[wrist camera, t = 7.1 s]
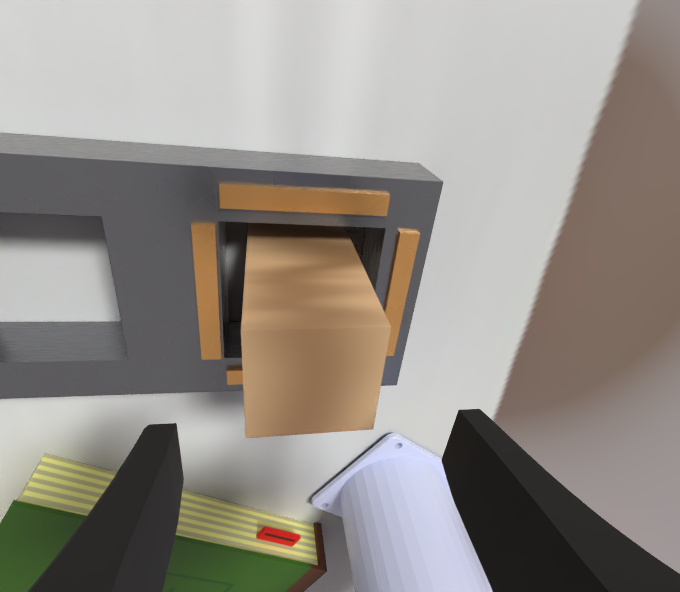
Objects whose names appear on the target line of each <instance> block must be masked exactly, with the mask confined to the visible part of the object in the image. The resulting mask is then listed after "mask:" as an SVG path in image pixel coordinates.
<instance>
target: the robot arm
mask: <svg viewBox="0 0 680 592" xmlns="http://www.w3.org/2000/svg"><path fill="white" fill-rule="evenodd" d="M183 480H184V478H183V470H182V463H181V455H180V447H179V440H178V432H177V424H176V423H174V424H153V425H148V426H147V427H146V428H144V430H143V432H142V434H141V435H140V437H139V439H138V440H137V442H136V444H135V445H134V447H133V449H132V450H131V452H130V454H129V455H128V457H127V458H126V460H125V461H124V463H123V465H122V466H121V468H120V469H119V471H118V472H117V474H116V475H115V477H114V478H113V480H112V481H111V483H110V484H109V485H108V487H107V488H106V490H105V491H104V493H103V494H102V495H101V497H100V498H99V500H98V501H97V503H96V504H95V505H94V507H93V508H92V510H91V511H90V513H89V514H88V515H87V517H86V518H85V519H84V521H83V522H82V523H81V525H80V526H79V527H78V529H77V530H76V531H75V533H74V534H73V535H72V536H71V538H70V539H69V540H68V542H67V543H66V544H65V546H64V547H63V548H62V549H61V551H60V552H59V553H58V555H57V556H56V557H55V559H54V560H53V561H52V562H51V564H50V565H49V566H48V567H47V569H46V570H45V571H44V572H43V573H42V575H41V576H40V577H39V578H38V580H37V581H36V582H35V583H34V584H33V586H32V587H31V588H30V589H29V590H28V591H27V592H162V591H163V586H164V582H165V578H166V573H167V569H168V565H169V561H170V556H171V552H172V548H173V543H174V539H175V535H176V530H177V526H178V520H179V512H180V505H181V497H182V488H183ZM312 505H313V506H314V507H316V508H319V509H321V510H324V511H327V512H329V513H332V514H334V515H337V516H339V517H342V519H343V525H344V531H345V536H346V542H347V548H348V554H349V560H350V566H351V571H352V577H353V583H354V589H355V592H680V574H679V573H677V572H676V571H674V570H673V569H671V568H670V567H668V566H667V565H665V564H664V563H662V562H661V561H660V560H658V559H657V558H655V557H654V556H652V555H651V554H650V553H648V552H647V551H645V550H644V549H643V548H641V547H640V546H639V545H637V544H636V543H634V542H633V541H632V540H630V539H629V538H628V537H626V536H625V535H624V534H622V533H621V532H620V531H618V530H617V529H616V528H614V527H613V526H612V525H610V524H609V523H608V522H606V521H605V520H604V519H603V518H601V517H600V516H599V515H598V514H596V513H595V512H594V511H593V510H591V509H590V508H589V507H588V506H587V505H586V504H584V503H583V502H582V501H581V500H580V499H578V498H577V497H576V496H575V495H573V494H572V493H571V492H570V491H569V490H567V489H566V488H565V487H564V486H563V485H562V484H561V483H560V482H558V481H557V480H556V479H555V478H554V477H553V476H552V475H550V474H549V473H548V472H547V471H546V470H544V468H543V467H542V466H540V465H539V464H538V463H537V462H536V461H535V460H534V459H533V458H532V457H531V456H529V455H528V454H527V453H526V452H525V451H524V450H523V449H522V448H521V447H520V446H519V445H518V444H517V443H516V442H515V441H513V440H512V439H511V438H510V437H509V436H508V435H507V434H506V433H505V432H504V431H503V430H502V429H501V428H500V427H499V426H497V425H496V424H495V423H494V422H493V421H492V420H491V419H490V418H489V417H488V416H487V415H486V414H485V413H483V412H482V411H481V410H480V409H469V410H459V411H458V414H457V417H456V420H455V422H454V425H453V428H452V431H451V434H450V437H449V440H448V443H447V446H446V449H445V452H444V455H443V457H442V459H441V458H439V457H437V456H435V455H434V454H432V453H430V452H428V451H427V450H425V449H423V448H421V447H419V446H418V445H416V444H414V443H412V442H411V441H409V440H407V439H405V438H404V437H402V436H400V435H398V434H396V433H391V434H388V435H387V436H385V437H384V438H383V439H382V440H381V441H379V442H378V443H377V444H376V445H375V446H373V447H372V448H371V449H370V450H369V451H367V452H366V453H365V454H364V455H363V456H361V457H360V458H359V459H358V460H357V461H355V462H354V463H353V464H352V465H351V466H349V467H348V468H347V469H346V470H344V471H343V472H342V473H341V474H340V475H338V476H337V477H336V478H335V479H334V480H332V481H331V482H330V483H329V484H328V485H326V486H325V487H324V488H323V489H322V490H320V491H319V492H318V493H317V494H316V495H314V496H313V497H312Z"/></svg>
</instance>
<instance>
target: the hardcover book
mask: <svg viewBox="0 0 680 592" xmlns="http://www.w3.org/2000/svg"><path fill="white" fill-rule="evenodd" d="M116 474H117V472H114V471H110V470H107V469H103V468H99V467H95V466H91V465H88V464H84V463H80V462H76V461H73V460H69V459H65V458H61V457H58V456H54V455H50V454H46V453H45V454H44V455H43V457H42V459H41V460H40V462H39V464H38V466H37V467H36V469H35V471H34V472H33V474H32V476H31V477H30V479H29V481H28V483H27V484H26V486H25V488H24V489H23V491H22V493H21V494H20V496H19V498H18V500H17V501H16V500H14V501H13V502H12V504H11V506H10V507H9V509H8V511H7V513H6V514H5V516H4V518H3V519H2V521H1V523H0V592H27V591H28V590H29V589H30V588H31V587H32V586H33V584H34V583H35V582H36V581H37V580H38V578H39V577H40V576H41V575H42V573H43V572H44V571H45V570H46V569H47V567H48V566H49V565H50V564H51V562H52V561H53V560H54V559H55V557H56V556H57V555H58V553H59V552H60V551H61V549H62V548H63V547H64V546H65V544H66V543H67V542H68V540H69V539H70V538H71V536H72V535H73V534H74V533H75V531H76V530H77V529H78V527H79V526H80V525H81V523H82V522H83V521H84V519H85V518H86V517H87V515H88V514H89V513H90V511H91V510H92V508H93V507H94V505H95V504H96V503H97V501H98V500H99V498H100V497H101V495H102V494H103V493H104V491H105V490H106V488H107V487H108V485H109V484H110V483H111V481H112V480H113V478H114V477H115V475H116ZM325 572H327V568H326V560H325V552H324V544H323V536H322V528H321V524H319V523H314V524H310V523H306V522H303V521H299V520H295V519H291V518H287V517H284V516H280V515H276V514H272V513H269V512H265V511H261V510H257V509H254V508H250V507H246V506H242V505H238V504H235V503H231V502H227V501H223V500H220V499H216V498H212V497H208V496H205V495H201V494H197V493H193V492H189V491H186V490H182V497H181V505H180V512H179V520H178V526H177V530H176V535H175V539H174V543H173V548H172V552H171V556H170V561H169V565H168V569H167V573H166V578H165V582H164V586H163V591H162V592H304V591H305V590H306V589H307V588H308V587H310V586H311V585H312V584H313V583H314V582H315V581H316V580H317V579H319V578H320V577H321V576H322V575H323V574H324V573H325Z"/></svg>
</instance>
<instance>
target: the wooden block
mask: <svg viewBox="0 0 680 592" xmlns="http://www.w3.org/2000/svg"><path fill="white" fill-rule="evenodd" d="M390 331H391V325H390V323H389V321H388V319H387V317H386V315H385V312H384V310H383V308H382V306H381V304H380V302H379V299H378V297H377V295H376V293H375V291H374V289H373V286H372V284H371V282H370V280H369V278H368V276H367V273H366V271H365V269H364V267H363V265H362V262H361V260H360V258H359V256H358V254H357V252H356V249H355V247H354V245H353V243H352V241H351V239H350V236H349V234H348V232H347V230H346V228H345V226H322V225H298V224H273V223H248V237H247V251H246V265H245V279H244V293H243V307H242V321H241V346H242V368H243V391H244V413H245V436H246V438H255V437H269V436H283V435H298V434H312V433H326V432H341V431H355V430H369V429H373V427H374V421H375V415H376V410H377V404H378V398H379V393H380V387H381V382H382V376H383V370H384V365H385V359H386V353H387V348H388V342H389V336H390Z"/></svg>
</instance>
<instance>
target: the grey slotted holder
mask: <svg viewBox="0 0 680 592" xmlns="http://www.w3.org/2000/svg"><path fill="white" fill-rule="evenodd" d="M442 185H443V181H442V180H440V179H439V178H438V177H436V176H435V175H434V174H432V173H431V172H430V171H428V170H427V169H426V168H424V167H423V166H422V165H420V164H419V163H406V162H393V161H379V160H365V159H352V158H338V157H324V156H311V155H297V154H283V153H270V152H256V151H242V150H229V149H215V148H201V147H188V146H174V145H160V144H147V143H133V142H119V141H106V140H92V139H78V138H65V137H51V136H37V135H24V134H10V133H0V212H5V213H29V214H54V215H78V216H101V217H102V222H103V227H104V232H105V237H106V243H107V248H108V253H109V258H110V264H111V269H112V274H113V279H114V285H115V290H116V295H117V300H118V306H119V311H120V316H121V321H122V322H0V399H8V398H37V397H66V396H95V395H124V394H153V393H182V392H211V391H240V390H243V368H242V346H241V321H228V293H227V265H226V237H225V222H249V223H273V224H298V225H322V226H346V227H366V233H365V240H364V247H363V254H362V261H361V262H362V265H363V267H364V269H365V271H366V273H367V276H368V278H369V280H370V282H371V284H372V286H373V289H374V291H375V293H376V295H377V297H378V299H379V302H380V304H381V306H382V308H383V310H384V312H385V315H386V317H387V319H388V321H389V323H390V325H391V331H390V336H389V342H388V348H387V353H386V359H385V365H384V370H383V376H382V382H381V386H386V385H397V381H398V377H399V372H400V368H401V364H402V359H403V355H404V351H405V346H406V342H407V337H408V333H409V329H410V324H411V320H412V316H413V311H414V307H415V303H416V298H417V294H418V290H419V285H420V281H421V277H422V272H423V268H424V264H425V259H426V255H427V251H428V246H429V242H430V237H431V233H432V229H433V224H434V220H435V216H436V211H437V207H438V203H439V198H440V194H441V190H442Z"/></svg>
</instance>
